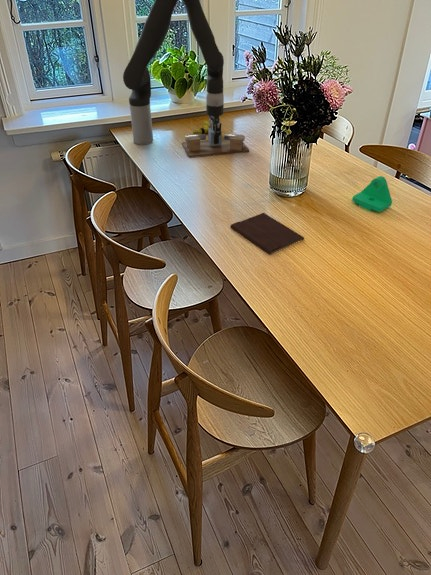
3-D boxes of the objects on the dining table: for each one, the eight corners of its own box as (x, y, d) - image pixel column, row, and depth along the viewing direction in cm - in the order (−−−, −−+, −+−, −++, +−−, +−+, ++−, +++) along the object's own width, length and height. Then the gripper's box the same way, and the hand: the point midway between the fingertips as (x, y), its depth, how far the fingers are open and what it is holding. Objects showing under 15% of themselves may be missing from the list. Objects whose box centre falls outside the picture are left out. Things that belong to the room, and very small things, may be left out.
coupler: (208, 142, 206) (208, 129, 202) (218, 141, 207) (218, 128, 203) (210, 145, 202) (210, 132, 198) (221, 145, 203) (221, 131, 199)
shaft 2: (225, 138, 203) (225, 133, 202) (244, 140, 202) (244, 134, 200) (224, 140, 201) (224, 135, 200) (243, 142, 200) (244, 136, 199)
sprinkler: (184, 122, 220) (209, 116, 226) (184, 130, 223) (209, 123, 229) (207, 139, 209) (232, 132, 216) (207, 147, 212) (232, 139, 219)
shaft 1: (185, 140, 201) (185, 135, 200) (204, 138, 203) (204, 133, 202) (186, 142, 200) (186, 137, 198) (205, 140, 201) (205, 135, 200)
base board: (181, 144, 209) (181, 131, 205) (239, 139, 214) (239, 126, 211) (188, 157, 197) (188, 144, 193) (249, 151, 202) (249, 138, 199)
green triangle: (350, 203, 165) (355, 177, 159) (361, 196, 169) (367, 171, 163) (379, 215, 158) (386, 188, 152) (390, 208, 162) (397, 182, 156)
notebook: (263, 216, 158) (264, 211, 157) (303, 240, 146) (304, 235, 144) (230, 229, 151) (230, 224, 150) (269, 256, 139) (269, 251, 137)
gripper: (202, 98, 198) (203, 136, 208) (210, 108, 187) (210, 148, 198) (219, 97, 199) (218, 135, 210) (227, 107, 188) (226, 146, 199)
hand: (214, 141), depth 204 cm, fingers closed on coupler, 5 cm apart
